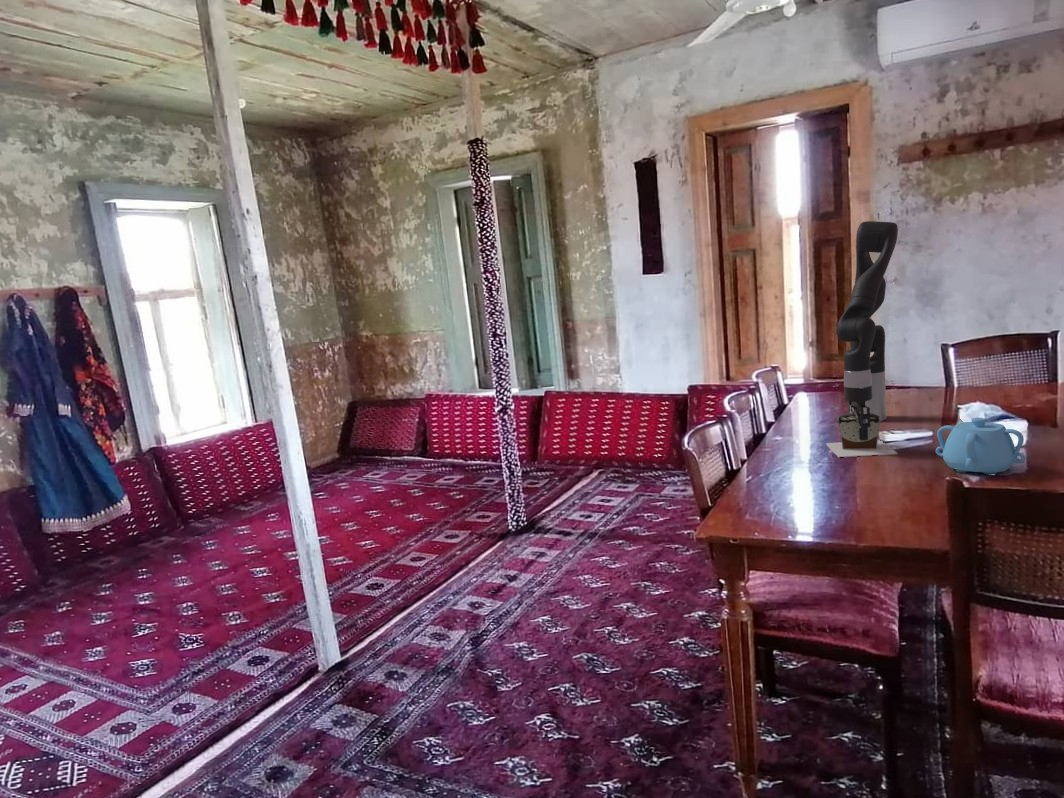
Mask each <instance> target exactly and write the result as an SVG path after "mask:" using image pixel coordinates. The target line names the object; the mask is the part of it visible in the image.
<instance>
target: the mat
mask: <svg viewBox="0 0 1064 798" xmlns="http://www.w3.org/2000/svg"><path fill="white" fill-rule="evenodd" d="M880 440H881V439H878V443H877V449H843V448H842V442H840V441H839V442H825V446H827V448H829V449H830V450H831V451H832V452H833V453H834V455H836V456H837V458H839V459H840V457H844V458H857V456H861V457H873V456H872V455H878V456H890V455H891V456H892V455H895V456H896V455H898V452H897V451H896V450H894V449H893V448H892V447H890V446H889V445H888V444H886V443H885V442H884V441H883V440H881V441H880ZM883 442H884V443H883Z"/></svg>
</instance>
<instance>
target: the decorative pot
mask: <svg viewBox="0 0 1064 798" xmlns="http://www.w3.org/2000/svg"><path fill="white" fill-rule="evenodd" d="M944 430H949V431H951V432H950V433H949V435H948V437H947V439H946V441H945V440H944V437H943V431H944ZM1010 434H1012V435H1015V436H1016V437H1017V444H1016V447H1015V444H1014V441H1013V439H1012V437H1011V435H1010ZM936 436H937V439H938V443H939V444H940V446H938V447H936V449H935V454H936V455H937V456H939V457H942V458H943V460H944V462H945V464H946V465H947V467H949V468H951V469H955V472H957V473H967V472H974V473H983V474H984V475H985V474H990V475H989V476H992V475H991V474H996V475H997V473H1003V472H1005V471H1008V469H1010V467H1012V465H1013V464H1014V463H1015V464H1023V463H1024V462H1025V461H1026V455H1025V454H1024V453H1022V452H1020V451H1021V449H1022V447H1023V445H1024V440H1025V438H1024V435H1023V434H1022V433H1021V432H1020V430H1017V429H1013V428H1008V429H1007V428H1006V427H1005V425H1003V424H1002V423H996V422H990V421H987V418H984V417H973V418H971V419H970V421H964V422H959V423H957V424H956V425H950V424H949V425H948V424H947V425H943V426H941V427H940V428H939V429H938V430H937V432H936ZM940 450H942V452H941V451H940ZM1018 457H1020V458H1018Z"/></svg>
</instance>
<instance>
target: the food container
mask: <svg viewBox="0 0 1064 798" xmlns="http://www.w3.org/2000/svg"><path fill="white" fill-rule="evenodd" d="M836 419H837V420H836V425H837V426H838V427H839V429H838V430H839V433H840V441H841V442H842V448H843V449H877V443H878V440H879V432H880V424H882V422H883V421H881V419H880V417H879V416H878V415H876V414H872V413H870V424H871V426H870V427H869V428H868V440H863V441H861V440H860V439H859V425H858V422H856V420H855V417H854V416H850V413H844V414H841V415H839V416H838V417H837V418H836ZM863 423H865V422H864V421H863Z"/></svg>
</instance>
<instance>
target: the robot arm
mask: <svg viewBox="0 0 1064 798" xmlns="http://www.w3.org/2000/svg"><path fill="white" fill-rule="evenodd" d="M898 233H899V226H898V225H897V223H896V222H893V221H891V222H890V221H874V220H873V221H871V220H867V221H862V222H861V223H860V224H859V225H858V228H857V231H856V239H855V250H856V251H855V255H856V257H855V258H856V264H855V265H856V267H855V269H856V270H855V278H854V279H855V280H854V286H853V288H852V290H851V293H850V294H851V295H850V300H849V303H848V305H847V306H846V308H845V310H844V311H843V313H842V315H841V316H840V318H839V320H838V322H837V325H836V329H835V333H836V337H837V339H839V341H841V342H845V343H849V347H850V349H848V350H846V351H845V352H844V354H843V368H844V373H843V389H844V390H843V391H844V400H845V401H847V403H848V405H847V409H848V413H850V416H854V417H855V420H856V422H858V425H859V439H860V440H861V441H863V440H868V428H869V427H870V426H871V424H870V413H872V414H876V415H878V416H879V417H880V419H881V422H883V421H885V420H887V394H886V390H887V389H886V357H885V356H886V354H885V352H886V350H885V349H886V331H885V329H884V327H883V326H882V325H880V324H879V325H876V322H875V320H873V319H872V318H871V317H872V316H873V315H874V314H875V313H876V312H877V311H878V310H879V309H880V307H881V306H882V305H883V303H884V301H885V299H886V290H887V289H886V288H887V284H886V279H885V277H884V276H885V273H886V271H887V269H888V266H889V264H890V261H891V258H892V256H893V253H894V250H895V248H896V245H897V240H898ZM870 253H877V254H878V253H880V254H879V256H878V257H877V259H876V260H875V262H874V261H873V260H872V258H871V254H870ZM871 353H873V354H872V355H871ZM848 413H847V414H848ZM863 421H864V422H865V423H863Z"/></svg>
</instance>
